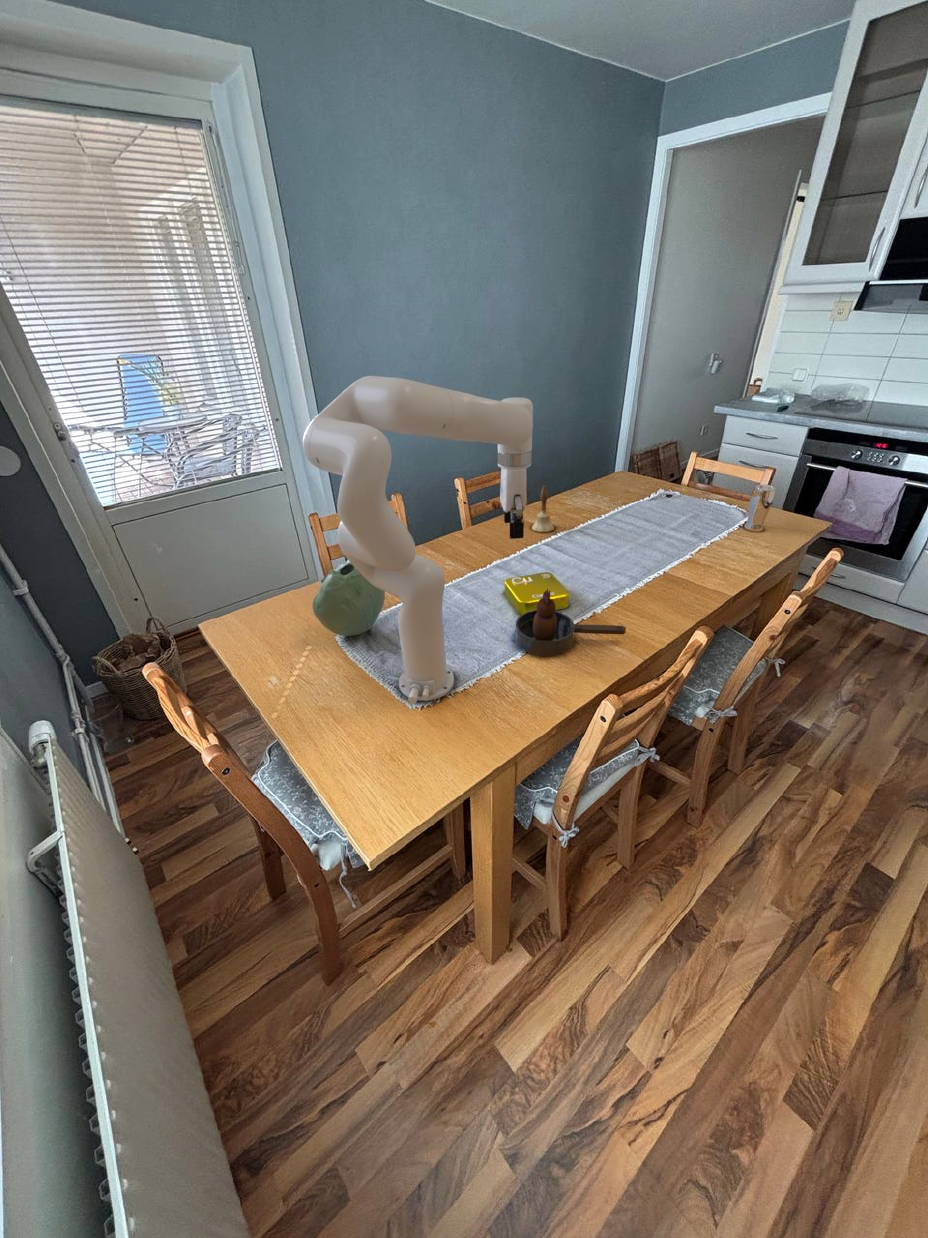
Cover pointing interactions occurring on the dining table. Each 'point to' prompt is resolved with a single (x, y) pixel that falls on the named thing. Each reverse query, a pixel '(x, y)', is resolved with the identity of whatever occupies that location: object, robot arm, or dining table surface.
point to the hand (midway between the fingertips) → (513, 529)
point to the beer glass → (759, 507)
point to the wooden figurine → (545, 618)
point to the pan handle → (600, 629)
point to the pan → (542, 647)
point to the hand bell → (543, 515)
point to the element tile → (535, 591)
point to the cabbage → (347, 601)
